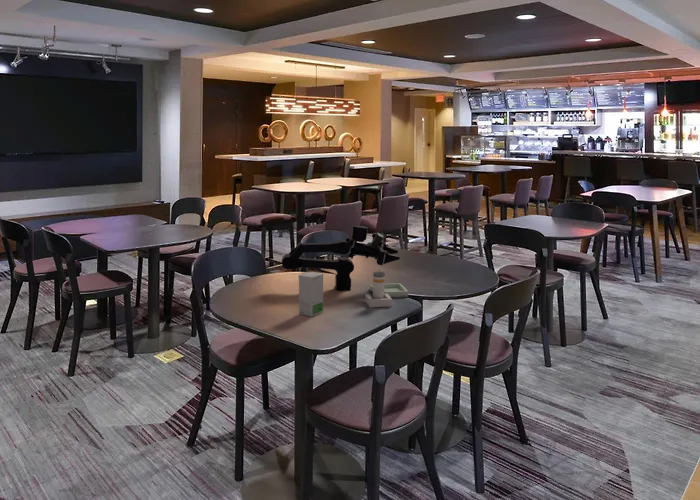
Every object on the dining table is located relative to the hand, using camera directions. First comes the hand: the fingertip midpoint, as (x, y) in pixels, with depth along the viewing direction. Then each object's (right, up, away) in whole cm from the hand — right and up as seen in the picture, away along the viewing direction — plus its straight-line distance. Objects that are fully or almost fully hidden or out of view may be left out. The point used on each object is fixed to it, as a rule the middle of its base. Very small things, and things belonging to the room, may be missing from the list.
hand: (398, 255), depth 260 cm
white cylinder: (-10, -20, -20) cm, 30 cm away
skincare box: (-37, -23, -34) cm, 55 cm away
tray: (-5, -17, -4) cm, 18 cm away
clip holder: (-10, -20, -20) cm, 30 cm away
